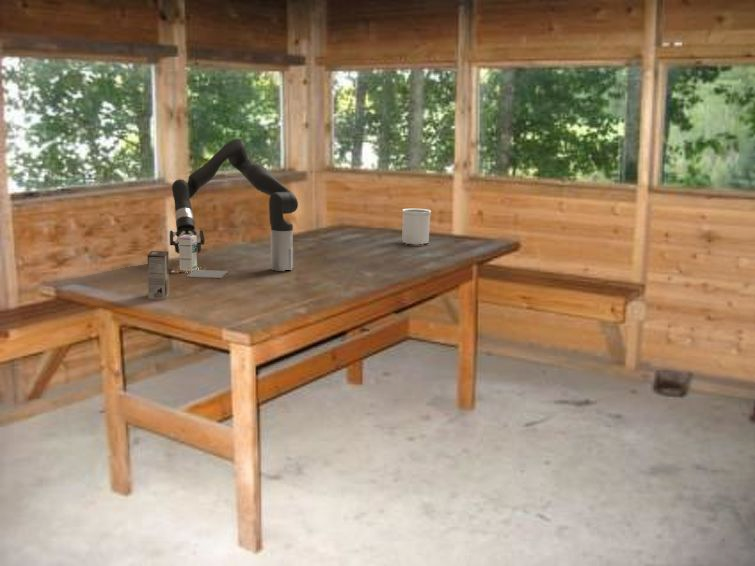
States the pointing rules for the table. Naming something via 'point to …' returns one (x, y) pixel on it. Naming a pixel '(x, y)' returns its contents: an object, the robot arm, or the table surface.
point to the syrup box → (188, 252)
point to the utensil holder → (416, 225)
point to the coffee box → (158, 275)
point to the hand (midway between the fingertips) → (188, 252)
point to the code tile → (186, 271)
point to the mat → (207, 274)
